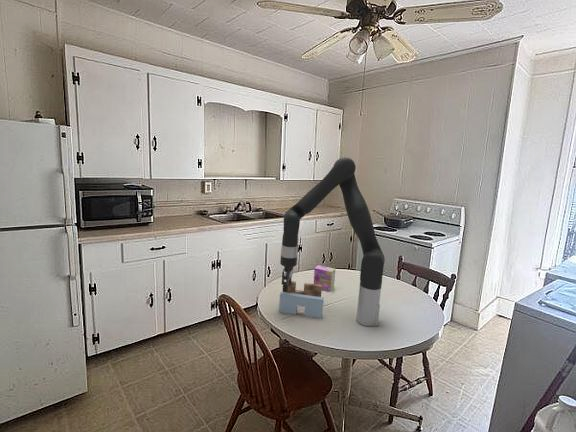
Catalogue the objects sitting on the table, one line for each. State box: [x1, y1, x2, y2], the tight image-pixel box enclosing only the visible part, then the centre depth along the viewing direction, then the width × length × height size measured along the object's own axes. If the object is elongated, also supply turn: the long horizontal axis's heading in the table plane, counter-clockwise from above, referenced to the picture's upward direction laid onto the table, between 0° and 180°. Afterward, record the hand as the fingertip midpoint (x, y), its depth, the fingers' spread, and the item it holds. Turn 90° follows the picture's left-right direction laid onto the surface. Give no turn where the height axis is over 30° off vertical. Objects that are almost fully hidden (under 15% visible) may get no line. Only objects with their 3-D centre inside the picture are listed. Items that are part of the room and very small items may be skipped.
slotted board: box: [287, 280, 323, 297], centre depth 157 cm, size 18×2×9 cm, turn 79°
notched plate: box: [278, 291, 325, 319], centre depth 144 cm, size 20×2×9 cm, turn 79°
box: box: [313, 264, 336, 293], centre depth 173 cm, size 10×6×12 cm, turn 62°
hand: (286, 288), depth 144 cm, fingers open, 8 cm apart
